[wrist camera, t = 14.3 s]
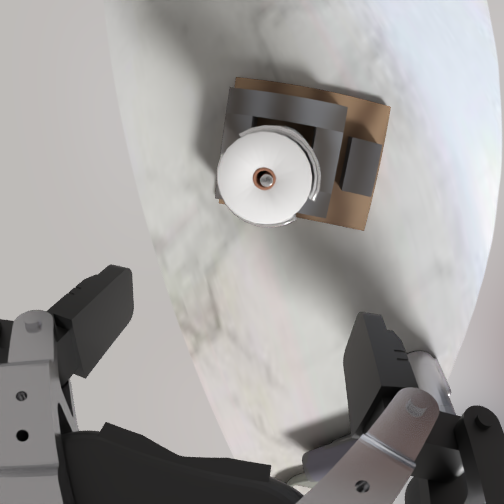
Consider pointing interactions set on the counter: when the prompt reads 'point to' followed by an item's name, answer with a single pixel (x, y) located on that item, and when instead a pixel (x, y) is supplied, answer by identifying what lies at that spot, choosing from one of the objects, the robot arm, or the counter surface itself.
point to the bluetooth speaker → (325, 458)
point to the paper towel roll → (268, 175)
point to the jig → (319, 141)
